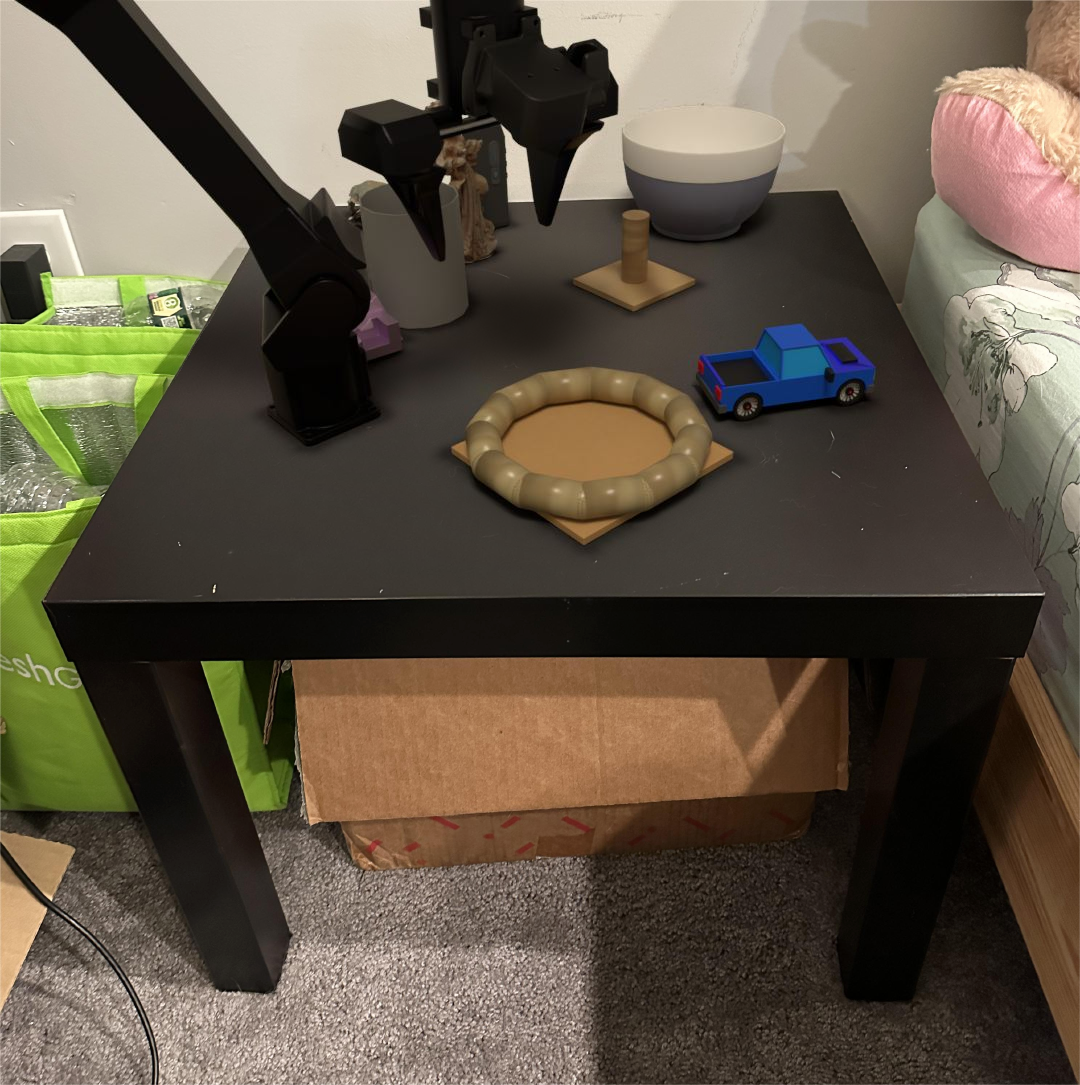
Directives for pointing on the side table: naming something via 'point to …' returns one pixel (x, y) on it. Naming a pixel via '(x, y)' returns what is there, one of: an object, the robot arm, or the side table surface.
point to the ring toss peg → (634, 270)
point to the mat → (590, 450)
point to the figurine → (468, 194)
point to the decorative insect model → (358, 192)
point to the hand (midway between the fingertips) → (493, 241)
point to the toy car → (785, 372)
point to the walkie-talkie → (493, 173)
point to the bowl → (701, 167)
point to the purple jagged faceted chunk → (378, 331)
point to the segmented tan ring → (594, 494)
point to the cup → (414, 260)
